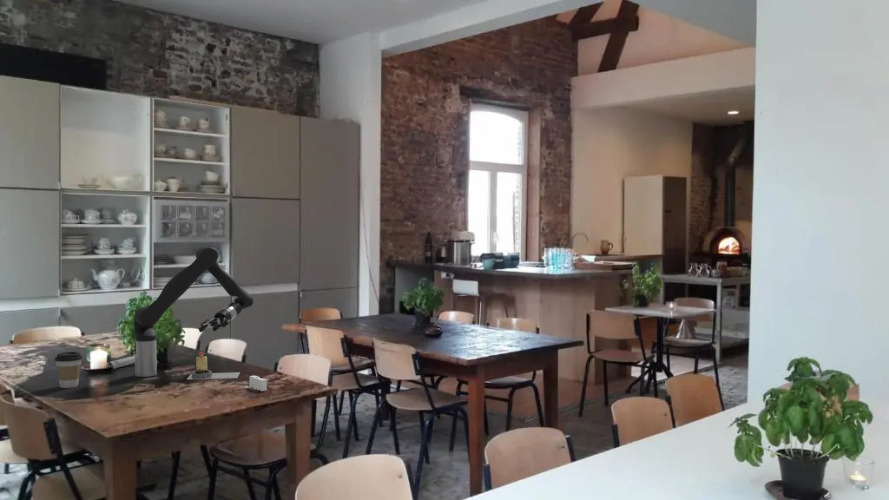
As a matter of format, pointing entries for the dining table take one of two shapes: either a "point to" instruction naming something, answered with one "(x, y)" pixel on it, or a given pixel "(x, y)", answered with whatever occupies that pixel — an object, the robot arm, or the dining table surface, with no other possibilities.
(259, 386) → the napkin holder
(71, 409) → the dining table surface
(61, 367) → the coffee cup
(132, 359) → the grey long cylinder
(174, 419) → the dining table surface
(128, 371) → the dining table surface
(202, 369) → the brass valve
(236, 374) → the manifold plate
